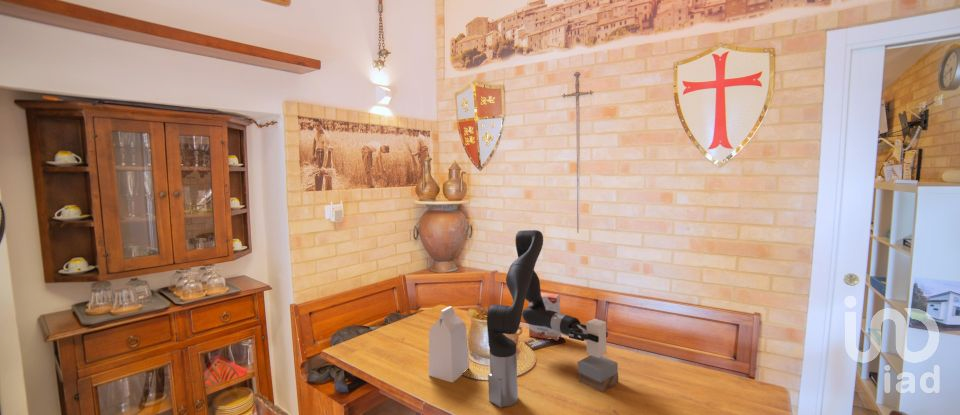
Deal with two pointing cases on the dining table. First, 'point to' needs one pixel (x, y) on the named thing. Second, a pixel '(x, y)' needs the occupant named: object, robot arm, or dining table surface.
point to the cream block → (599, 330)
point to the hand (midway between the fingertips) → (602, 337)
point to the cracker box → (550, 304)
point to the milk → (448, 347)
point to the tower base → (596, 384)
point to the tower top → (598, 367)
